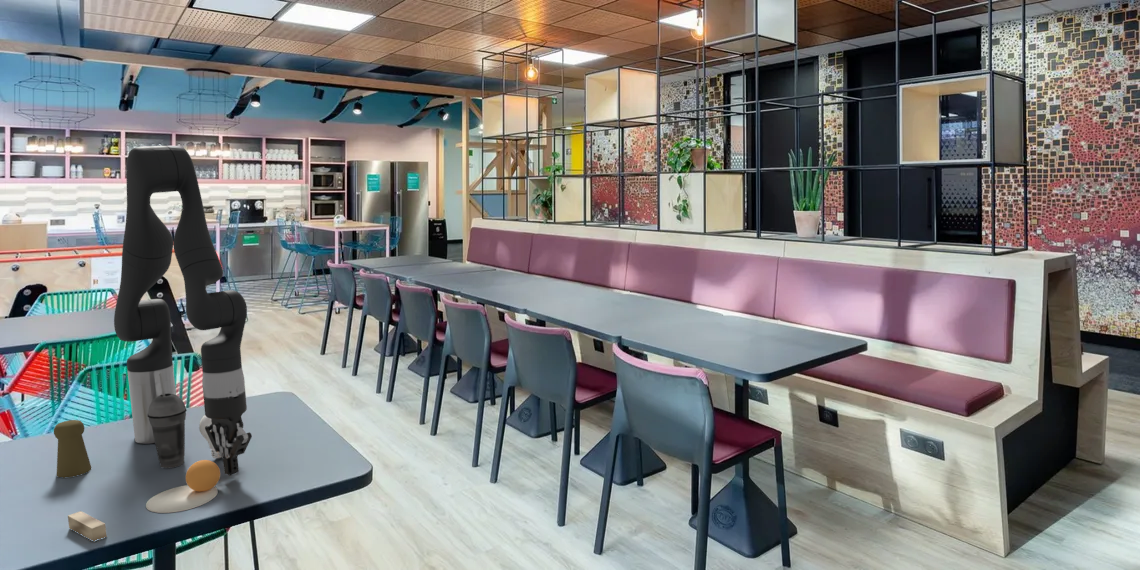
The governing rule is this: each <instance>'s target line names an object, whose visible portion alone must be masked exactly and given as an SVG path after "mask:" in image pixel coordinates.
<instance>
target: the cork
mask: <svg viewBox="0 0 1140 570" xmlns="http://www.w3.org/2000/svg"><path fill="white" fill-rule="evenodd" d="M84 432H85V424H84V423H83V422H82V421H81V420H78V419H70V420H65V421H62V422H59V423H57V424H55V426H54V428H53V435H54V436H55V438H56V440H57V456H56V457H57V458H56V476H58V477H57V478H59V477H63V478H62V479H66V478H65V477H69V478H74V477H73V476H75V477H78V476H77V475H79V476H82V475H84V473H85V474H87V473H89V472H90V471H91V470H92V469H91V468H92V466H91V465H92V464H91V461H90V457H89V454H88V451H87V449H86V448H87V447H86V445H85V441H84V437H83V433H84ZM86 472H87V473H86ZM81 474H82V475H81Z"/></svg>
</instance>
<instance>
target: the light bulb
mask: <svg viewBox="0 0 1140 570" xmlns="http://www.w3.org/2000/svg"><path fill="white" fill-rule="evenodd" d="M211 424H212V422H211V418H208V417H206V415H205V414H204V415H203V416H202V417H201V418H200V421H199V424H198V426H199V427H198V429H199V432H200V434H201V435H202V437H203V438H204V439H205V440H206V442H207V443H208V446H209V447H208V448H209V449H210V450H211V451H210V452H211V458H213V459H215V460H220V459H223V457H221V455H220V452H216V451H215V449H214V447H213V445H212V443H211V441H210V438H209V436H208V434H207V432H206V430H205V427H206V426H208V425H211Z"/></svg>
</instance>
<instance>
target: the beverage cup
mask: <svg viewBox="0 0 1140 570" xmlns="http://www.w3.org/2000/svg"><path fill="white" fill-rule="evenodd" d="M159 376H160V382H161V389H162V395H160V396H158V397H156V398H155V399H154V400H153V401H152V402H151V404H150V406H149V409H148V417H149V421H150V424H151V426H152V430H153V435H154V440H155V443H154V444H155V449H156V454H157V457H158V458H157V459H158V461H159V465H160V468H161V469H173V468H177V467H179V466H182V465H184V463H185V456H186V455H185V454H186V453H185V450H186V447H185V444H186V442H185V441H186V439H185V438H186V437H185V436H186V434H185V432H186V431H185V429H186V428H185V425H186V424H185V422H186V418H187V413H186V412H187V411H188V410H187V408H186V405H185V402H184V400H183V399H182V398H181V397H180V396H178V395H177V394H176V395H174V394H170V393H168V394H165V390H164V384H163V378H162V373H160V374H159Z"/></svg>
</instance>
